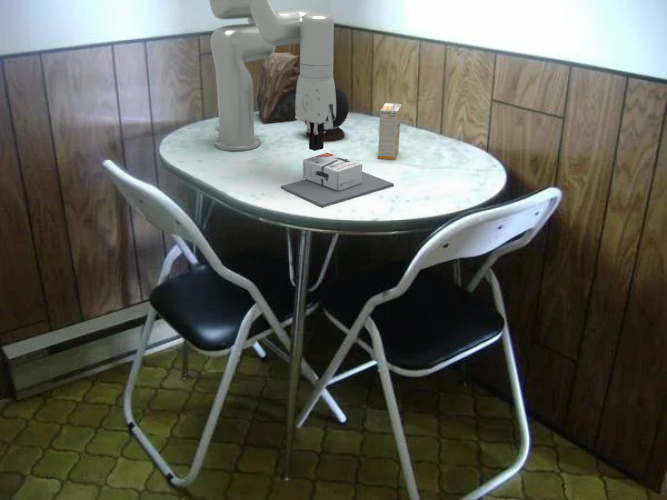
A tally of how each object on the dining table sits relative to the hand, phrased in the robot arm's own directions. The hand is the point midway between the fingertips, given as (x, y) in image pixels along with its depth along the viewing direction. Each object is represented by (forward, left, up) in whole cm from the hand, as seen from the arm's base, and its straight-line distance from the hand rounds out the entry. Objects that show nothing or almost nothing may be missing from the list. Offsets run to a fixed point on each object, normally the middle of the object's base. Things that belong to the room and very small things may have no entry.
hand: (316, 149), depth 165 cm
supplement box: (-2, +27, -8) cm, 28 cm away
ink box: (-1, 0, -4) cm, 4 cm away
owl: (-50, +24, -8) cm, 56 cm away
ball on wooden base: (-26, +25, -8) cm, 37 cm away
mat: (+8, 0, -7) cm, 11 cm away
